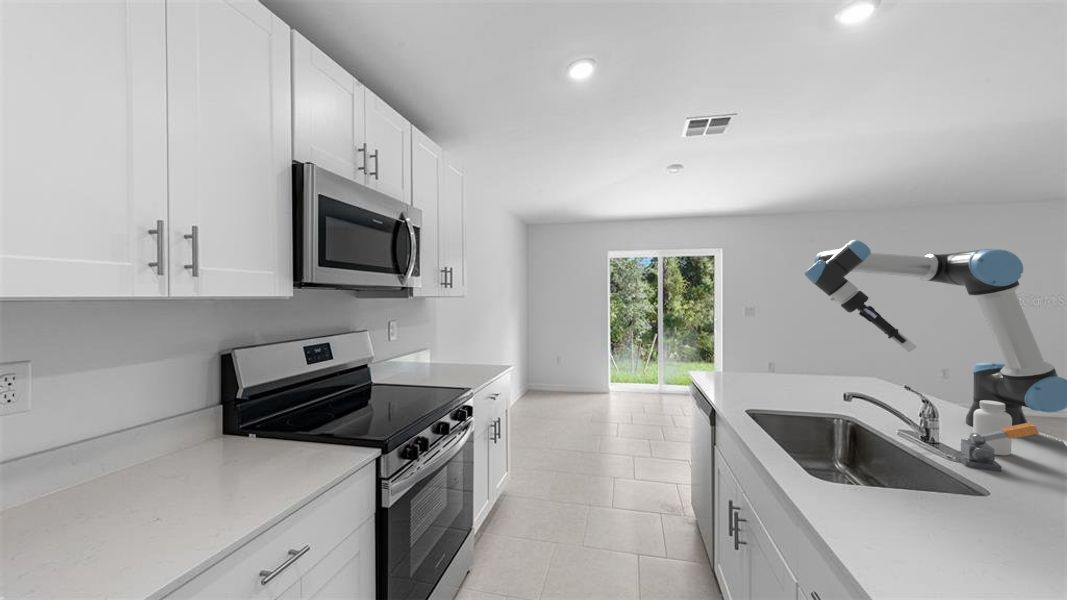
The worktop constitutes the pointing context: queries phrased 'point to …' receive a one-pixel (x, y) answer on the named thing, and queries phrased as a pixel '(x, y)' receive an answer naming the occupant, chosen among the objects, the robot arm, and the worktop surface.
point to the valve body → (977, 455)
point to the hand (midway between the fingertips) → (912, 349)
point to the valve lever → (1005, 433)
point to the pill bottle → (993, 424)
